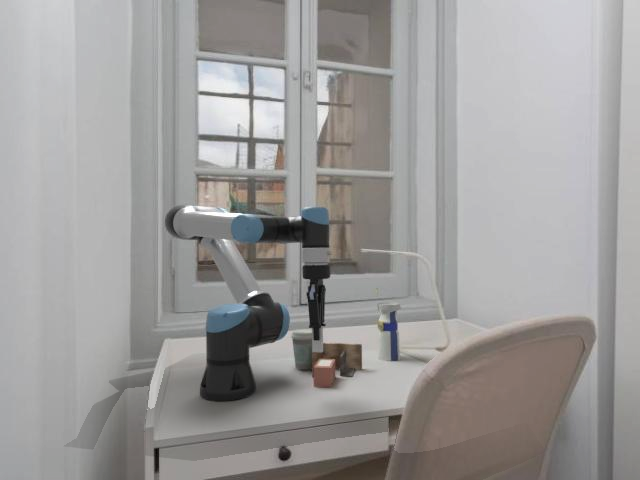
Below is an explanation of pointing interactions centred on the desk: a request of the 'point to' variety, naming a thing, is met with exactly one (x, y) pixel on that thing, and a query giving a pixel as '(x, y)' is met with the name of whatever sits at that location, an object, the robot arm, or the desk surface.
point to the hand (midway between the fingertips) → (317, 351)
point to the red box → (324, 372)
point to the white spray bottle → (388, 331)
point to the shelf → (341, 357)
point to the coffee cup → (302, 348)
